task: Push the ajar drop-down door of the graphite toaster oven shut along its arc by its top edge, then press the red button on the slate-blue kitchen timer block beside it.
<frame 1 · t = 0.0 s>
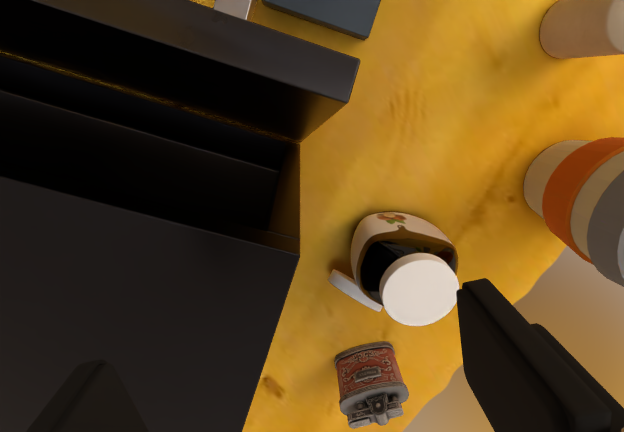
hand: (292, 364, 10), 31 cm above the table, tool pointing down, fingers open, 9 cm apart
candle: (565, 28, 36), on the table
spread jar: (378, 251, 44), on the table
lighter: (363, 354, 49), on the table
reusable coffee cup: (562, 179, 41), on the table
oven: (90, 228, 41), on the table
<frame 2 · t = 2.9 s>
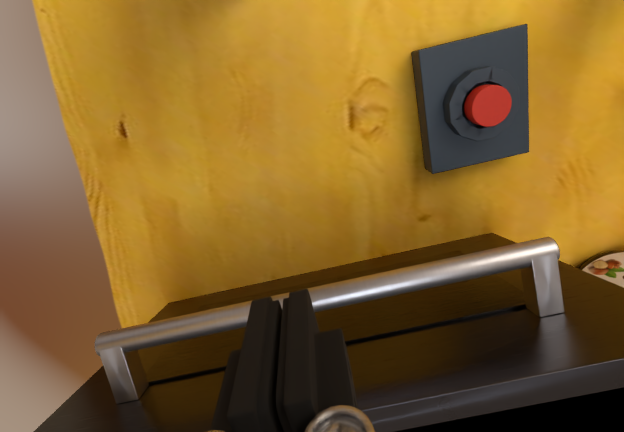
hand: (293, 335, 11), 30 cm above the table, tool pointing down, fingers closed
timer: (466, 102, 38), on the table
spread jar: (594, 290, 47), on the table
timer button: (487, 105, 34), point 4 cm above the table, slide at 0.1 cm
oven: (353, 379, 50), on the table
oven door: (325, 294, 31), point 12 cm above the table, hinge at 12.7°
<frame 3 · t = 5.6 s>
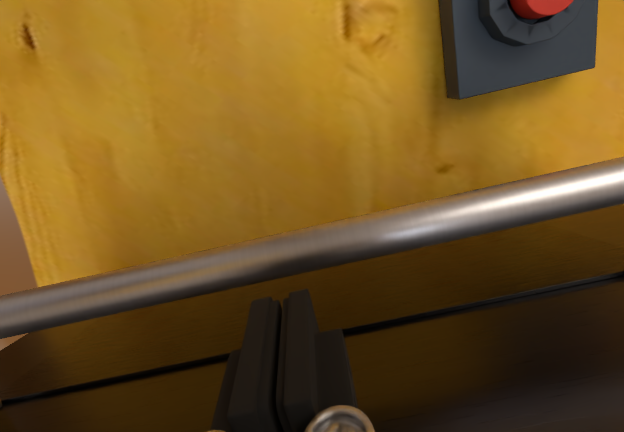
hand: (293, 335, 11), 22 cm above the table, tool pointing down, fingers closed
oven door: (307, 262, 21), point 12 cm above the table, hinge at 11.8°, touching gripper
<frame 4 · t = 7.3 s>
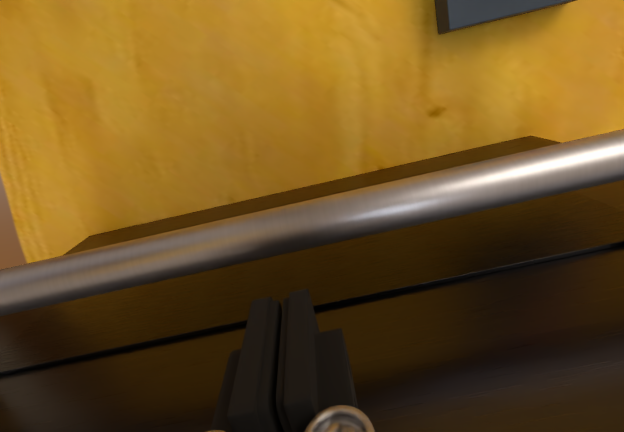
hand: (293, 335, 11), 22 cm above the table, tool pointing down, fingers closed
oven door: (297, 223, 20), point 13 cm above the table, hinge at -0.2°, touching gripper
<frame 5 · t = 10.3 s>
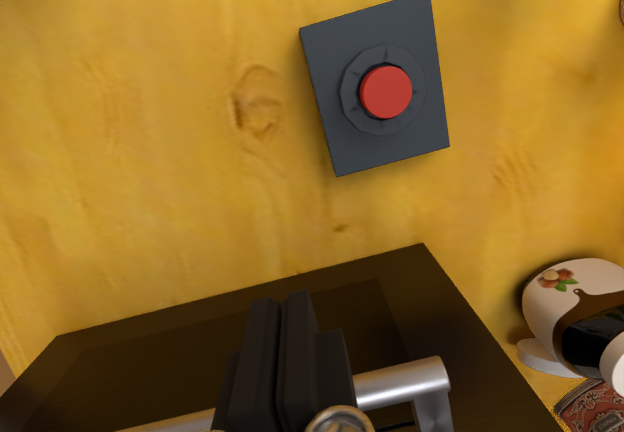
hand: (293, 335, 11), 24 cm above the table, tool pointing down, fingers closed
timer: (373, 90, 32), on the table
spread jar: (550, 302, 40), on the table
lighter: (581, 393, 45), on the table
timer button: (385, 92, 27), point 4 cm above the table, slide at 0.1 cm
oven door: (196, 373, 25), point 13 cm above the table, hinge at -0.2°
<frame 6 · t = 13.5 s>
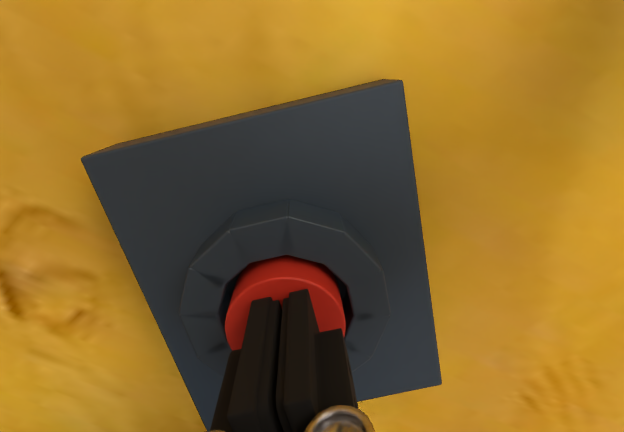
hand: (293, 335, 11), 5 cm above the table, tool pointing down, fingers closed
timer: (288, 257, 15), on the table
timer button: (286, 312, 12), point 4 cm above the table, slide at -0.5 cm, touching gripper
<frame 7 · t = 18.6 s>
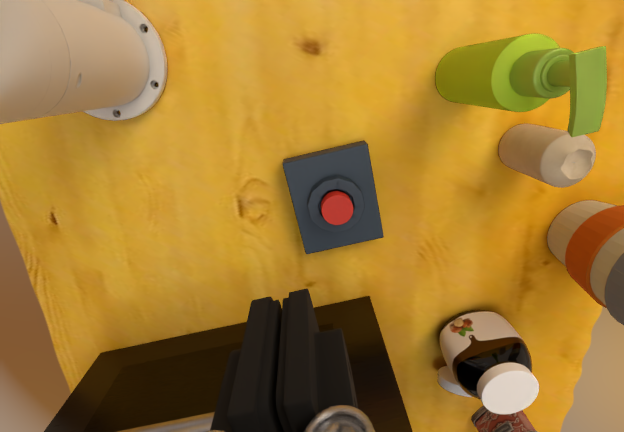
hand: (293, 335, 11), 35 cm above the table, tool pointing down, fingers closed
candle: (519, 145, 45), on the table
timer: (333, 196, 46), on the table
spread jar: (464, 340, 55), on the table
lighter: (492, 407, 60), on the table
soap dispenser: (460, 80, 42), on the table
reusable coffee cup: (579, 231, 49), on the table
timer button: (336, 207, 42), point 4 cm above the table, slide at 0.1 cm
oven door: (207, 387, 40), point 13 cm above the table, hinge at -0.2°
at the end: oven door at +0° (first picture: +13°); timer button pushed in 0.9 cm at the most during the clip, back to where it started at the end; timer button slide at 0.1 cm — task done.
